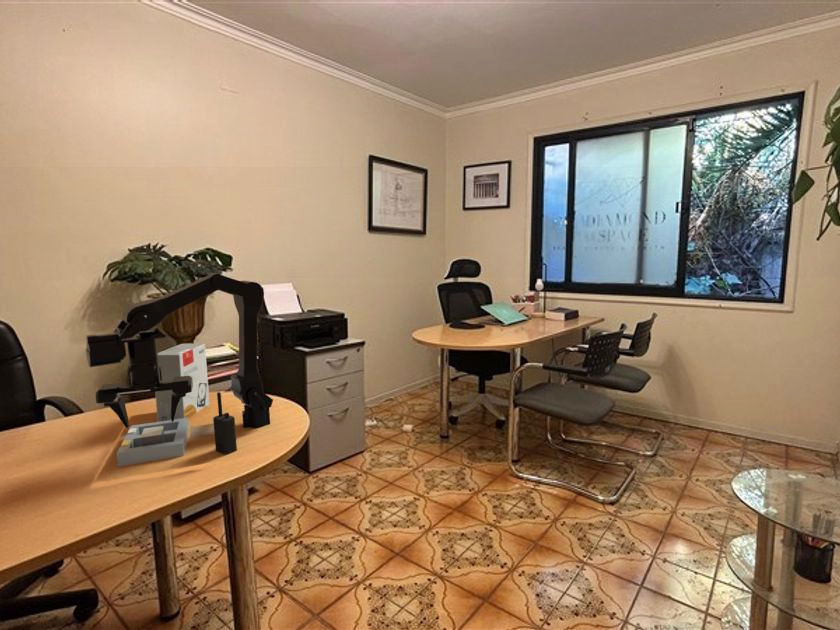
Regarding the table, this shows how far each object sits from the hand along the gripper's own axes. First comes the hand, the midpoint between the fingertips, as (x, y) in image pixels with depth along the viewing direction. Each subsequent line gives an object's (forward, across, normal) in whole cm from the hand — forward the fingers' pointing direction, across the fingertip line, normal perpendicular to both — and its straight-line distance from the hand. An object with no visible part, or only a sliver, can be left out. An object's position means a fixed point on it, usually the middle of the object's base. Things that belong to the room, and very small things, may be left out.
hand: (150, 424), depth 107 cm
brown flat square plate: (+8, -11, -9) cm, 16 cm away
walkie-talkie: (+8, -16, +6) cm, 19 cm away
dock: (+8, 0, -4) cm, 9 cm away
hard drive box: (+8, -5, -26) cm, 28 cm away
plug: (+7, 0, 0) cm, 7 cm away
